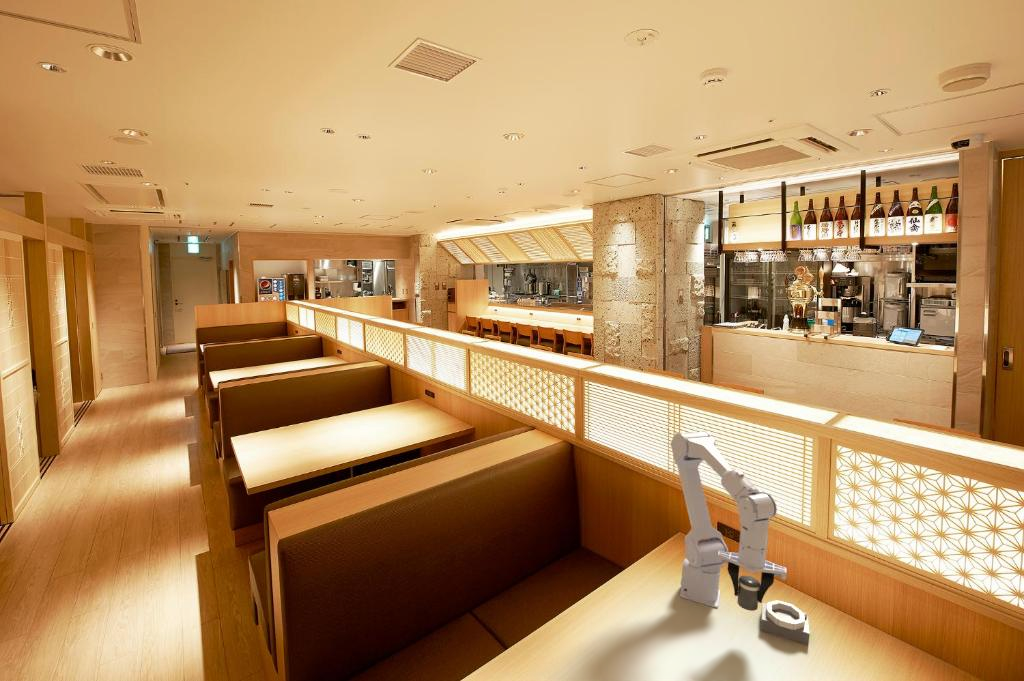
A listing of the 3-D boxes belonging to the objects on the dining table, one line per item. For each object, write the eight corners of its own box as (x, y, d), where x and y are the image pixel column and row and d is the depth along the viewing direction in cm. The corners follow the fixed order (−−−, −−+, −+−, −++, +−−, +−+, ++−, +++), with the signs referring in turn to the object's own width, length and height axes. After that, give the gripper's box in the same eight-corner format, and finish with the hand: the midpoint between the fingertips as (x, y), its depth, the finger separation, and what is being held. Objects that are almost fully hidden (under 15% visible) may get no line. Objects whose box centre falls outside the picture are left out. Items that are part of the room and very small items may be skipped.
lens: (736, 607, 117) (738, 583, 116) (737, 596, 121) (739, 573, 120) (758, 613, 114) (760, 589, 114) (758, 601, 119) (760, 578, 118)
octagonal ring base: (760, 631, 120) (762, 614, 119) (761, 612, 127) (762, 596, 126) (808, 646, 115) (810, 629, 115) (806, 625, 122) (808, 608, 122)
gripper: (718, 543, 115) (713, 596, 117) (789, 561, 109) (783, 617, 111) (720, 529, 121) (716, 580, 123) (787, 545, 115) (782, 599, 117)
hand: (747, 596), depth 117 cm, fingers closed on lens, 4 cm apart
